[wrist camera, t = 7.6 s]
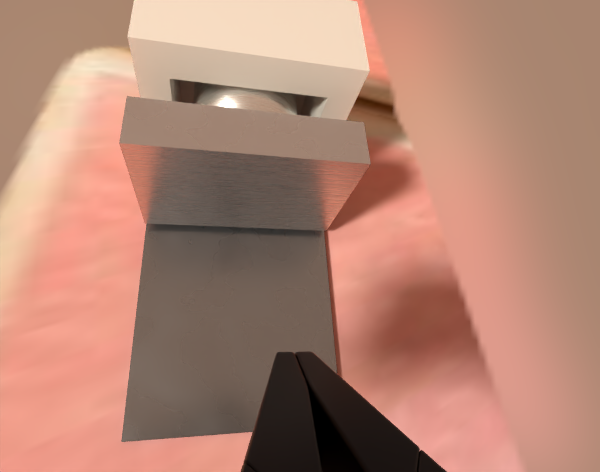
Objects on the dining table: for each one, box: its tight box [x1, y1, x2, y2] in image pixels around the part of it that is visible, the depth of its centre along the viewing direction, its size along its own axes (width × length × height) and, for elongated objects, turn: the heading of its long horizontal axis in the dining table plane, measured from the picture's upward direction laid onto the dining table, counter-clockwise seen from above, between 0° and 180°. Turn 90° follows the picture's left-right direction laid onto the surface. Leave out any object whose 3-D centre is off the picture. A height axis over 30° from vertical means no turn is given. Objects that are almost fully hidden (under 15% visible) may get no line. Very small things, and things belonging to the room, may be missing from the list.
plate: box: [122, 224, 337, 442], centre depth 23 cm, size 16×11×1 cm
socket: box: [128, 0, 370, 120], centre depth 23 cm, size 5×11×10 cm, turn 93°
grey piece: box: [119, 82, 371, 231], centre depth 22 cm, size 8×11×8 cm
